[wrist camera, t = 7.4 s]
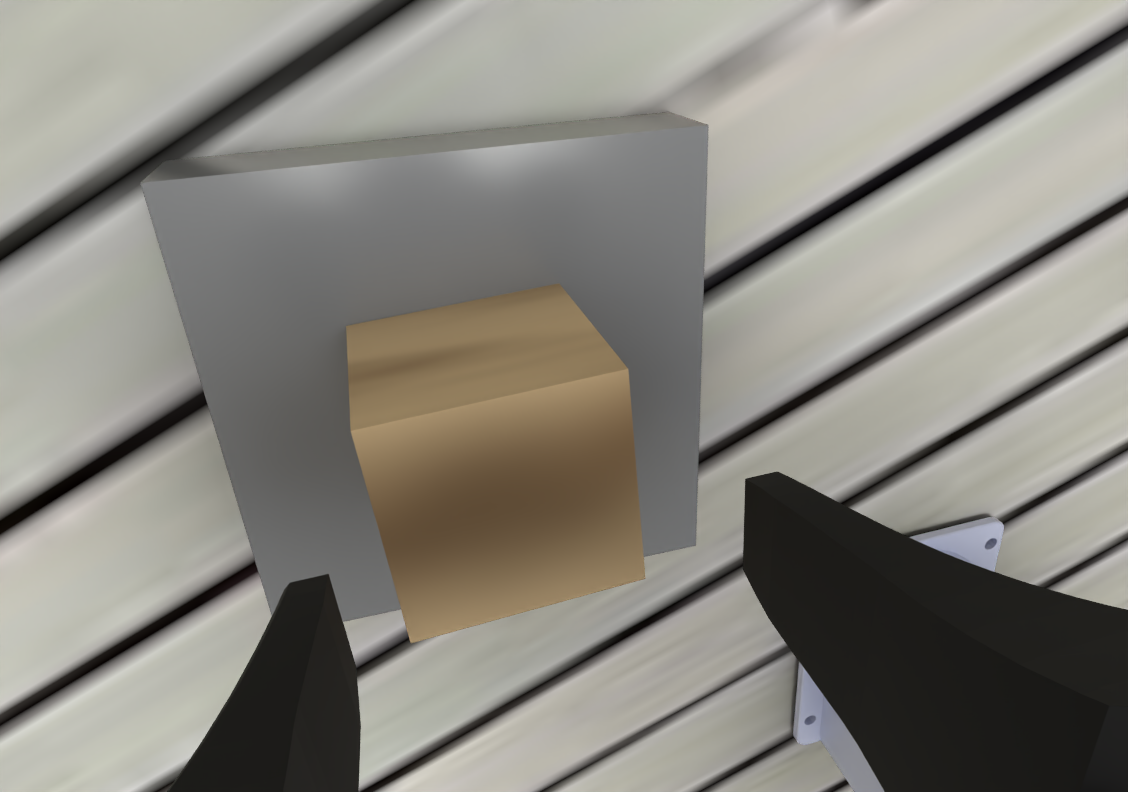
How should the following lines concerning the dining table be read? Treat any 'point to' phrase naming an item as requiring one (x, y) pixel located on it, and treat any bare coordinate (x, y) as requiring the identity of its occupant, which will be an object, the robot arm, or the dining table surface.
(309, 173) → the slate block
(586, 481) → the oak cube
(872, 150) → the dining table surface
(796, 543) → the robot arm
